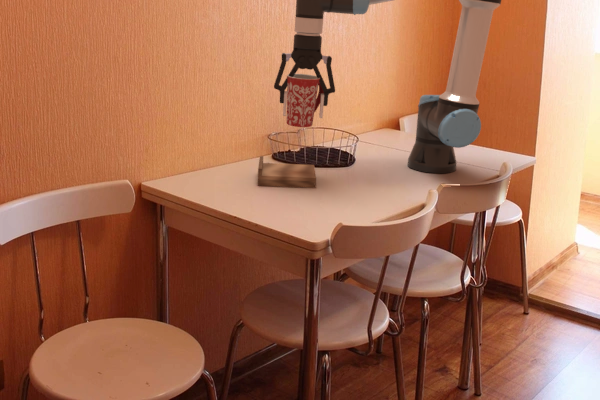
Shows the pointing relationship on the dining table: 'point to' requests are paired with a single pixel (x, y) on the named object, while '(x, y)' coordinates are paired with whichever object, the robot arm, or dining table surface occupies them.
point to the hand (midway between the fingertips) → (302, 116)
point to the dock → (286, 175)
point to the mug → (302, 99)
